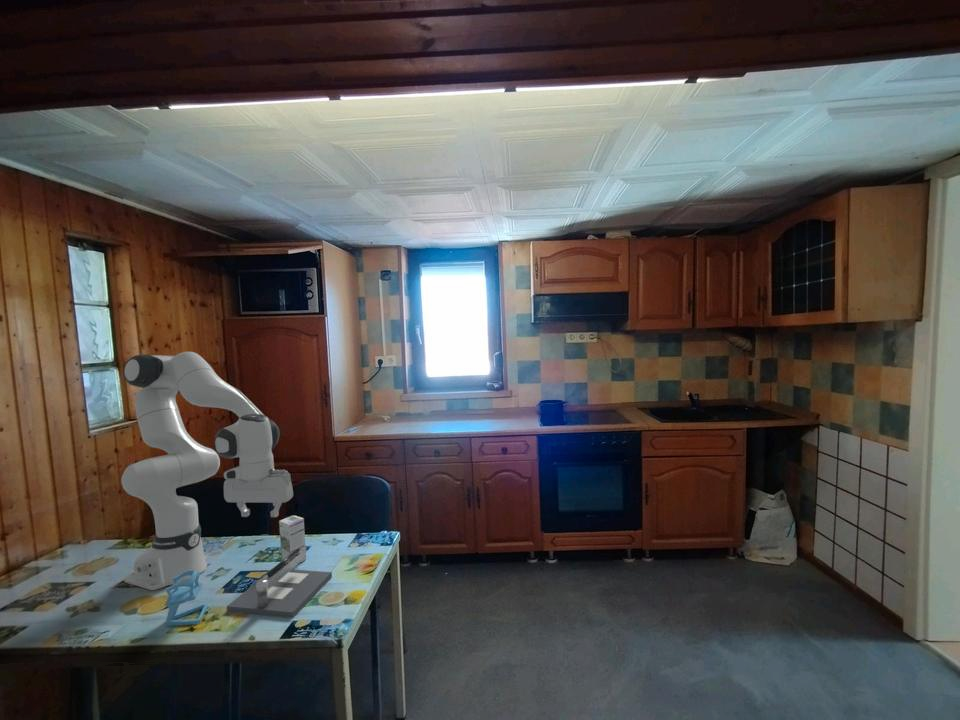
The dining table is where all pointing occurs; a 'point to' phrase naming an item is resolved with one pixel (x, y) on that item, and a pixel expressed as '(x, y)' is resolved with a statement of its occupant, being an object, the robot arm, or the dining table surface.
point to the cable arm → (279, 571)
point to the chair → (183, 599)
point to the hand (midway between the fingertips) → (260, 516)
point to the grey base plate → (282, 595)
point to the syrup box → (292, 535)
